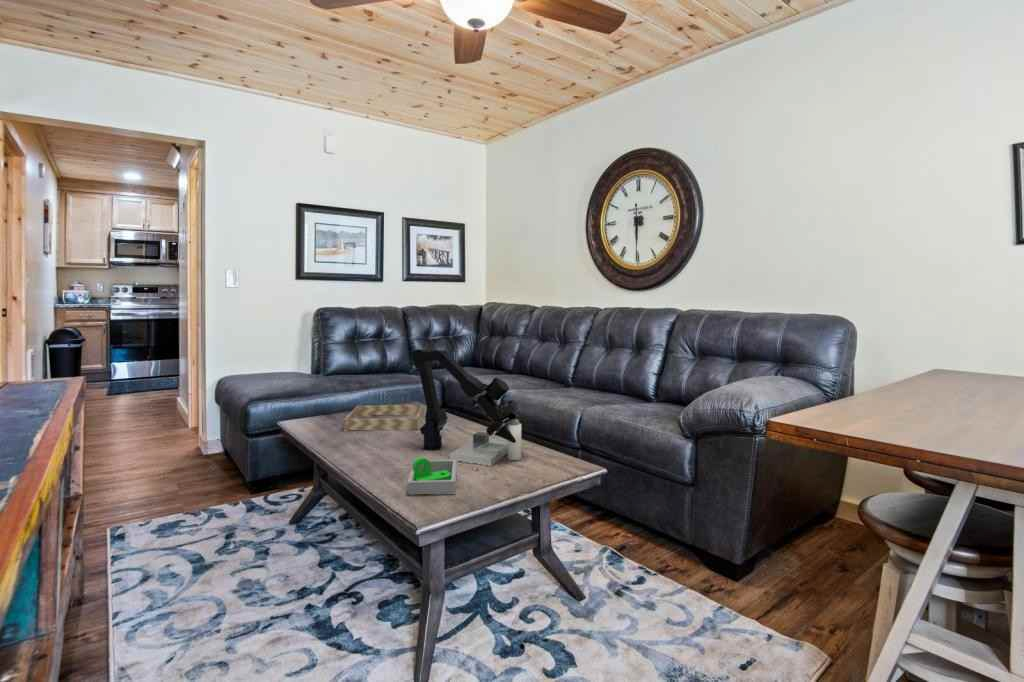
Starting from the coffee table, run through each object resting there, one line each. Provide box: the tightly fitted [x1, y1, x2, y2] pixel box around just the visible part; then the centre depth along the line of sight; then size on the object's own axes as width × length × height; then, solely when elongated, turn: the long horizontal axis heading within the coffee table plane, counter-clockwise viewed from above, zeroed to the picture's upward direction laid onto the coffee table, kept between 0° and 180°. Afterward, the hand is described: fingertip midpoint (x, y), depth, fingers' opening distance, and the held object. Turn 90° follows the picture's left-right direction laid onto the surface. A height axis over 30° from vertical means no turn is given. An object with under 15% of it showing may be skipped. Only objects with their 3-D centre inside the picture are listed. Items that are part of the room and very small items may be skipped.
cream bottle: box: [507, 418, 522, 461], centre depth 196 cm, size 5×5×14 cm
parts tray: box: [406, 459, 458, 495], centre depth 172 cm, size 14×20×4 cm
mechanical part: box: [411, 456, 452, 481], centre depth 174 cm, size 12×6×8 cm, turn 122°
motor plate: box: [449, 431, 508, 467], centre depth 201 cm, size 16×22×6 cm
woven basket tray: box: [343, 404, 425, 431], centre depth 248 cm, size 32×28×5 cm
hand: (517, 440), depth 195 cm, fingers closed on cream bottle, 5 cm apart
